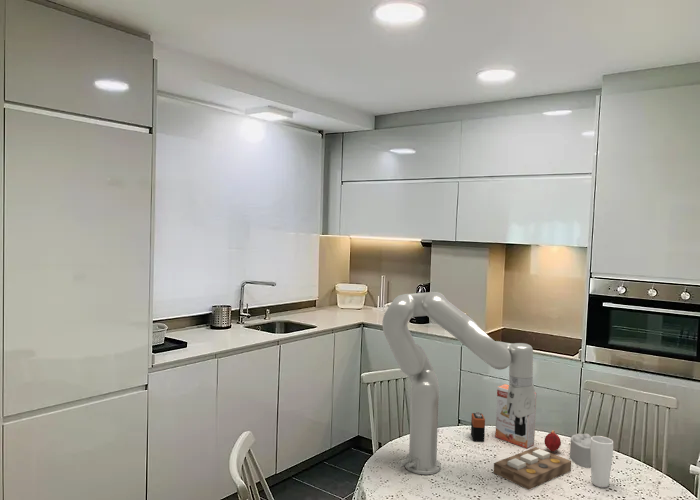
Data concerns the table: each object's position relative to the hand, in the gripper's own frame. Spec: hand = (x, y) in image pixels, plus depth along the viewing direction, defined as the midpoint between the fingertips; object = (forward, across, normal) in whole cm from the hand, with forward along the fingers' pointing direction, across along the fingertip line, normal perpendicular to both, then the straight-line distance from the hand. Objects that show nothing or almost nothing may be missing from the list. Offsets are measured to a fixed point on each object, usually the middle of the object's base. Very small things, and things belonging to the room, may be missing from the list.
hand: (520, 434), depth 182 cm
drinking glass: (+15, +17, -19) cm, 30 cm away
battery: (+14, +13, +29) cm, 35 cm away
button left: (+12, -1, +1) cm, 12 cm away
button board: (+14, +6, -1) cm, 16 cm away
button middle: (+12, +6, +1) cm, 14 cm away
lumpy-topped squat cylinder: (+15, +31, -6) cm, 35 cm away
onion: (+15, +27, +5) cm, 31 cm away
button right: (+12, +13, +1) cm, 18 cm away
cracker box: (+14, +23, +19) cm, 33 cm away
